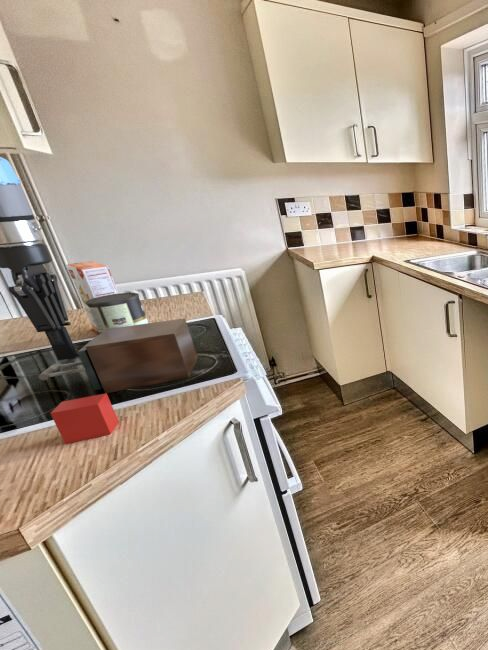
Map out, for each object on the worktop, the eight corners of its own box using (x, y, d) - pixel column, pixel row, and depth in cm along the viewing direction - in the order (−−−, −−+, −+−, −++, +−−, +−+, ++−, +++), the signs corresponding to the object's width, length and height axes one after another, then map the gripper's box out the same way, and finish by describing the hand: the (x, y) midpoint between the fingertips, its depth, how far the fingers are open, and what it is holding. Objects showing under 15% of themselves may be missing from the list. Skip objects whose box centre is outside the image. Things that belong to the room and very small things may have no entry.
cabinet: (105, 393, 88) (85, 346, 84) (123, 371, 99) (106, 329, 95) (189, 377, 94) (174, 333, 91) (198, 358, 105) (185, 318, 101)
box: (65, 444, 71) (50, 413, 69) (75, 431, 75) (61, 401, 73) (110, 434, 74) (97, 404, 71) (119, 422, 77) (106, 393, 75)
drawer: (40, 400, 84) (20, 360, 81) (64, 378, 94) (47, 341, 91) (173, 375, 93) (160, 339, 90) (183, 358, 103) (171, 324, 100)
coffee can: (143, 339, 120) (125, 291, 114) (164, 344, 115) (146, 294, 110) (98, 352, 111) (76, 300, 106) (119, 358, 107) (97, 304, 102)
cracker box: (93, 334, 125) (64, 264, 118) (119, 328, 130) (93, 260, 122) (108, 342, 118) (79, 268, 110) (135, 335, 123) (108, 264, 115)
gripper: (26, 246, 76) (79, 365, 85) (58, 239, 87) (102, 344, 96) (-33, 250, 73) (28, 373, 82) (7, 242, 84) (57, 351, 92)
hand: (68, 357), depth 89 cm, fingers closed
